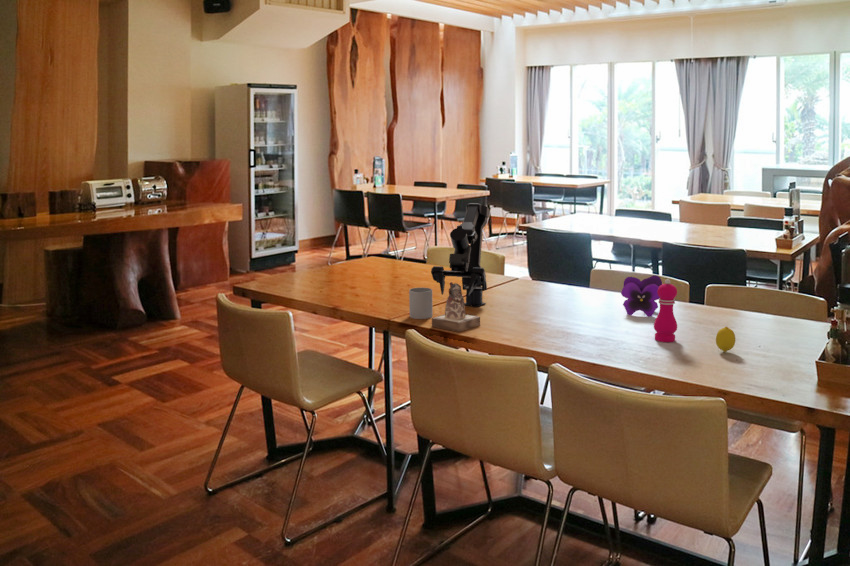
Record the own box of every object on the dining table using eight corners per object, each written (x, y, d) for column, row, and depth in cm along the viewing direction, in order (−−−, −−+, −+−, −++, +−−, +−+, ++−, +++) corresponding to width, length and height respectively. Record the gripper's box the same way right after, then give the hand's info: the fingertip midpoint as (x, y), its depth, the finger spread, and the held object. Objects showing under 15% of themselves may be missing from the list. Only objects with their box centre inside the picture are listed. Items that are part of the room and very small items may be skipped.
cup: (429, 319, 279) (429, 292, 277) (407, 318, 280) (407, 291, 278) (434, 314, 287) (433, 287, 285) (412, 313, 288) (412, 287, 286)
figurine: (451, 320, 264) (450, 286, 262) (441, 315, 270) (440, 282, 268) (469, 317, 267) (468, 283, 265) (458, 313, 274) (458, 280, 271)
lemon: (717, 348, 237) (719, 323, 236) (736, 351, 234) (738, 326, 233) (712, 353, 233) (714, 327, 231) (732, 355, 230) (733, 330, 228)
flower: (622, 321, 293) (618, 312, 281) (626, 284, 296) (622, 273, 284) (662, 324, 287) (659, 315, 275) (665, 286, 291) (663, 275, 279)
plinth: (453, 320, 277) (453, 311, 277) (480, 325, 269) (480, 316, 269) (431, 326, 268) (431, 317, 268) (458, 332, 261) (458, 323, 260)
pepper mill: (649, 337, 251) (652, 277, 247) (671, 336, 252) (674, 276, 248) (658, 343, 244) (661, 281, 240) (680, 342, 245) (683, 280, 241)
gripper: (431, 243, 269) (424, 280, 261) (484, 244, 265) (478, 282, 257) (437, 261, 278) (430, 298, 270) (488, 263, 274) (482, 300, 266)
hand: (455, 294), depth 265 cm, fingers open, 9 cm apart
